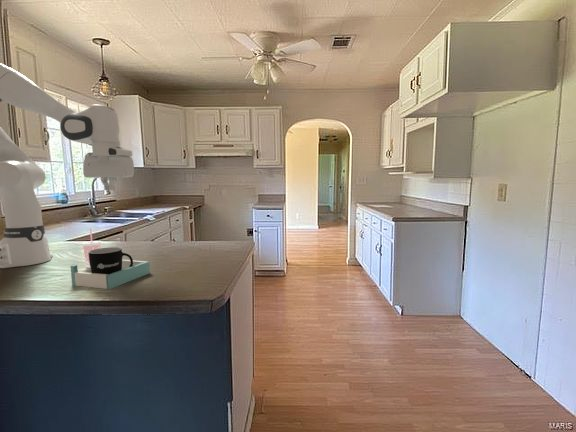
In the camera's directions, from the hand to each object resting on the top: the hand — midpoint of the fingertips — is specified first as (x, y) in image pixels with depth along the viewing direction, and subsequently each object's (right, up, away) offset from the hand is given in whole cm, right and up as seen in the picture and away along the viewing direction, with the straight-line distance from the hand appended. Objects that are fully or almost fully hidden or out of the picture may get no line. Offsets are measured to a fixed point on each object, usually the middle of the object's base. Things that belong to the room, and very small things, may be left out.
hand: (109, 190), depth 119 cm
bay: (+9, -30, -14) cm, 34 cm away
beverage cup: (-7, -28, +2) cm, 29 cm away
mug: (+10, -30, -17) cm, 36 cm away
